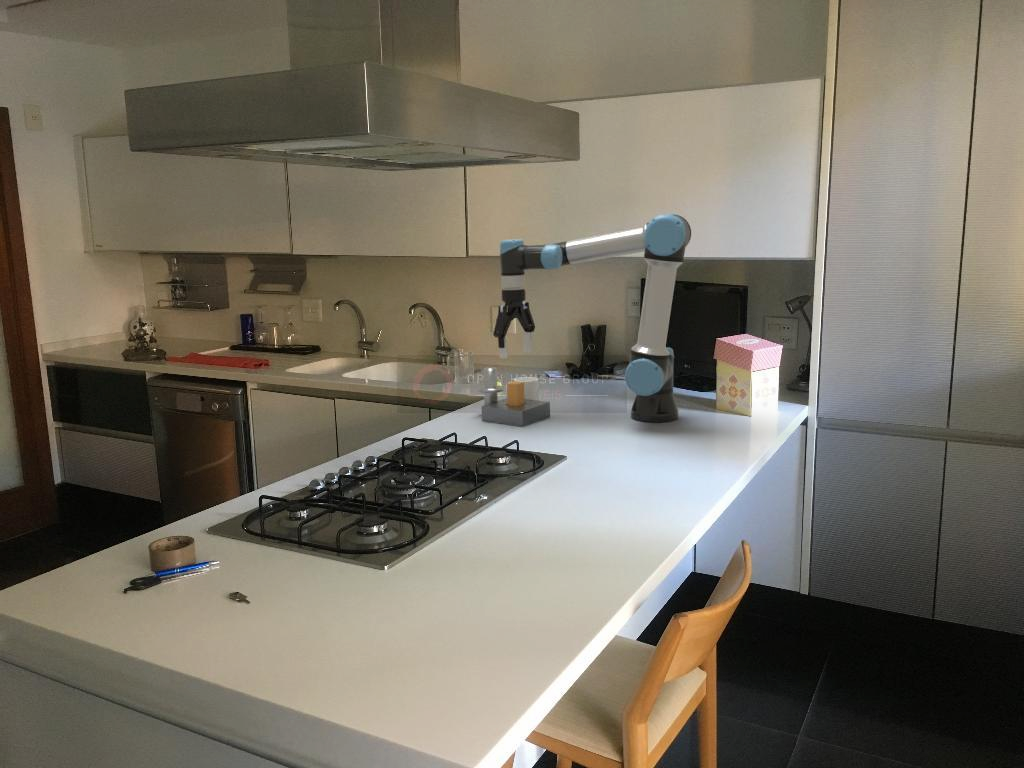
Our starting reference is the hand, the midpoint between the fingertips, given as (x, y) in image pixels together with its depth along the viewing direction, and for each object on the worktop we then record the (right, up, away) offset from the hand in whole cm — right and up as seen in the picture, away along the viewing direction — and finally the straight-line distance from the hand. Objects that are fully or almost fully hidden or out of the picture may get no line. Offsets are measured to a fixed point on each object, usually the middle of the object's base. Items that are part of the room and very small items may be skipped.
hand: (515, 355), depth 268 cm
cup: (+2, -18, +21) cm, 27 cm away
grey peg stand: (-2, -20, +6) cm, 21 cm away
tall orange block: (0, -21, +4) cm, 21 cm away
